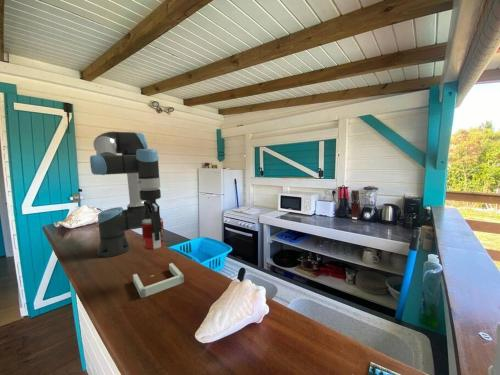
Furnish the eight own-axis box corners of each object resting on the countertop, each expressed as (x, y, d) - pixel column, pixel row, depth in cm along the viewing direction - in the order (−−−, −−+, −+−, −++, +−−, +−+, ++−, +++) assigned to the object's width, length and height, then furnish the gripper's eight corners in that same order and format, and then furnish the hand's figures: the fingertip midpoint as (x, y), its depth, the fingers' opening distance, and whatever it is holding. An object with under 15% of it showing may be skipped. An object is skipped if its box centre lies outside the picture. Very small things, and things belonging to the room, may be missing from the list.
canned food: (157, 250, 84) (155, 223, 82) (139, 249, 85) (136, 222, 84) (168, 243, 91) (166, 217, 90) (151, 242, 93) (149, 217, 91)
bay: (133, 281, 89) (132, 274, 88) (172, 269, 99) (172, 262, 98) (141, 298, 78) (140, 290, 78) (184, 282, 88) (183, 275, 88)
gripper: (133, 187, 91) (138, 239, 94) (146, 193, 75) (151, 255, 78) (152, 185, 96) (156, 235, 99) (168, 190, 79) (172, 250, 82)
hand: (154, 244), depth 88 cm, fingers closed on canned food, 8 cm apart
